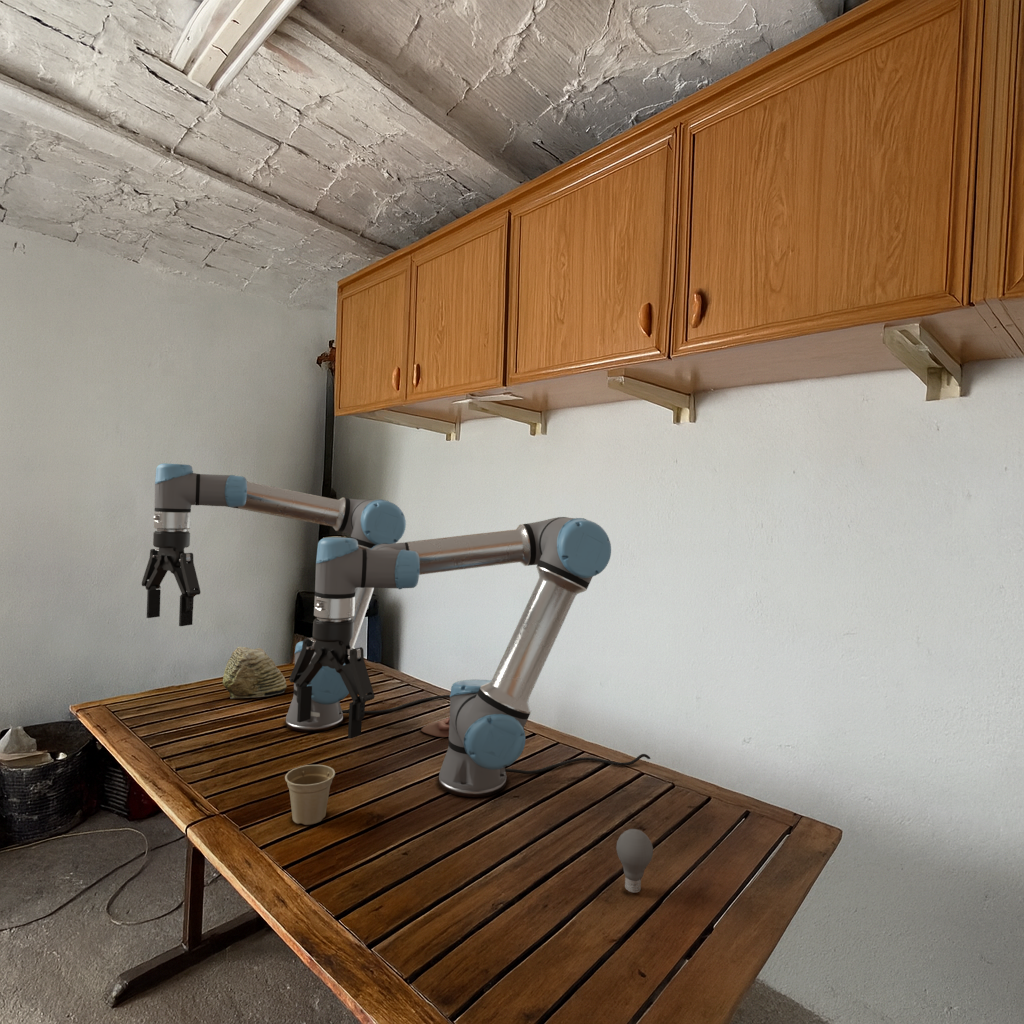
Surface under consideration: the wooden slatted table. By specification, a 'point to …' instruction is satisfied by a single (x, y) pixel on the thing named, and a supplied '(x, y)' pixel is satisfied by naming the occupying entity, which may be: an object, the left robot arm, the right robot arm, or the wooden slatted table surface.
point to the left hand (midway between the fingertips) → (169, 621)
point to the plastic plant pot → (309, 792)
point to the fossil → (252, 674)
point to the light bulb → (634, 857)
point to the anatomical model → (438, 728)
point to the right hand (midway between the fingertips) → (328, 728)
